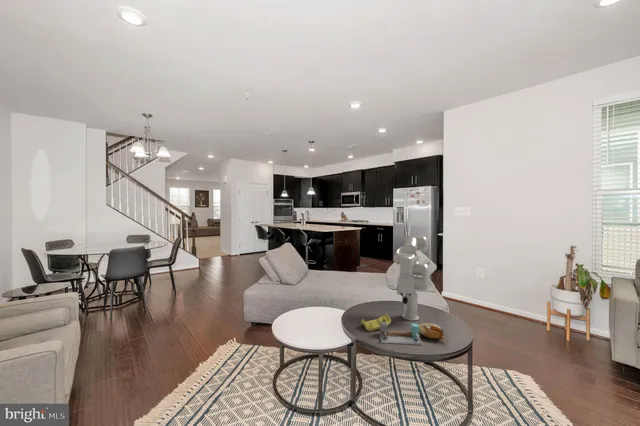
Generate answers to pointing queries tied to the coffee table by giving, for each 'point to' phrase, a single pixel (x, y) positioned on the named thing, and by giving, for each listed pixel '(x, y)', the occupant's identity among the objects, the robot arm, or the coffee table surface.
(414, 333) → the block
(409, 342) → the bolt plate
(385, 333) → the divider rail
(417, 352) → the coffee table surface
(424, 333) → the nautilus
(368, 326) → the plastic component
